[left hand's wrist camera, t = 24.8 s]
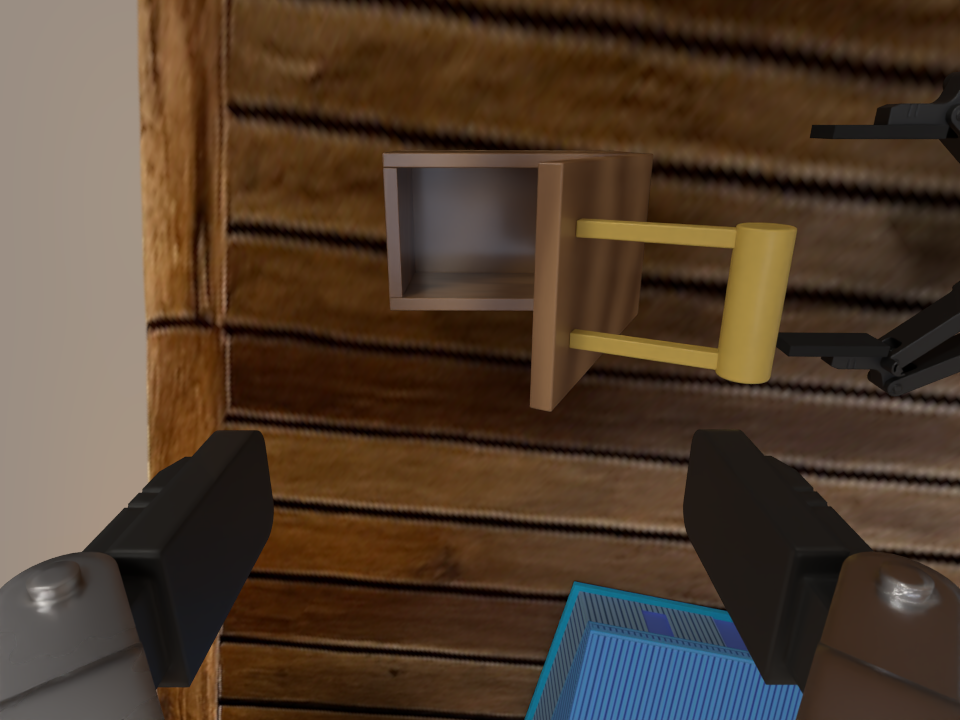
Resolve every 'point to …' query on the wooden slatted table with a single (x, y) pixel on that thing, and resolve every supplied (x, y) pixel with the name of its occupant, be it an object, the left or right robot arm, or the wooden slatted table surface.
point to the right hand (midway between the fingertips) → (799, 244)
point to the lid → (638, 278)
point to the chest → (464, 227)
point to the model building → (651, 664)
